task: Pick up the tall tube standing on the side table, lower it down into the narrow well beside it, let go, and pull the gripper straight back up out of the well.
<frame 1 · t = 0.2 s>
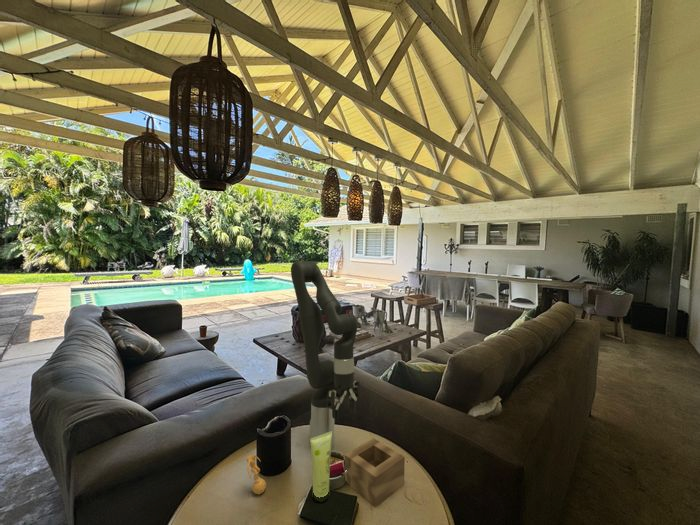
hand: (344, 414, 107), 18 cm above the table, tool pointing down, fingers open, 8 cm apart
well: (374, 482, 98), on the table
figurine: (256, 493, 94), on the table
tube: (320, 497, 92), on the table
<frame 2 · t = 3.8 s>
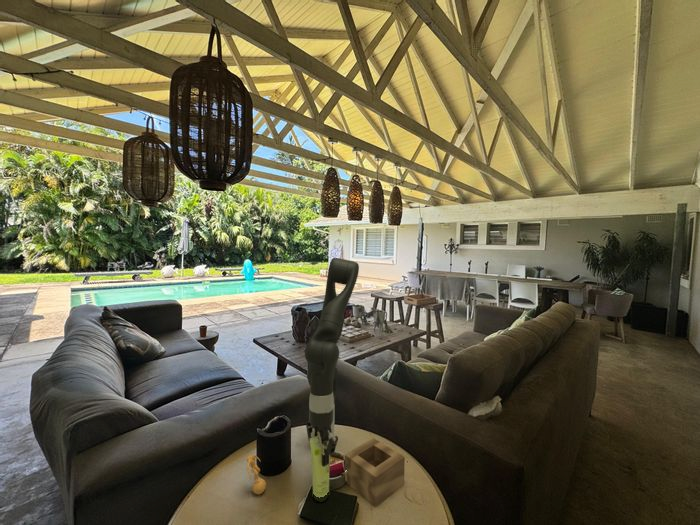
hand: (320, 461, 92), 11 cm above the table, tool pointing down, fingers closed on tube, 4 cm apart
tube: (320, 497, 92), on the table, touching gripper
everything else where it was.
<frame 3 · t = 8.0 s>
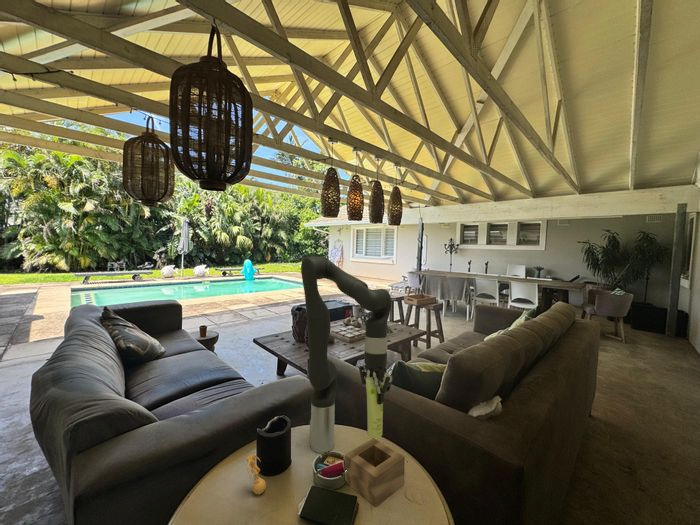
hand: (375, 400, 98), 27 cm above the table, tool pointing down, fingers closed on tube, 4 cm apart
tube: (374, 435, 98), point 16 cm above the table, touching gripper
everything else where it was.
when the fingers open (13 cm above the table, at t = 12.0 s): tube drops 1 cm, resting in well.
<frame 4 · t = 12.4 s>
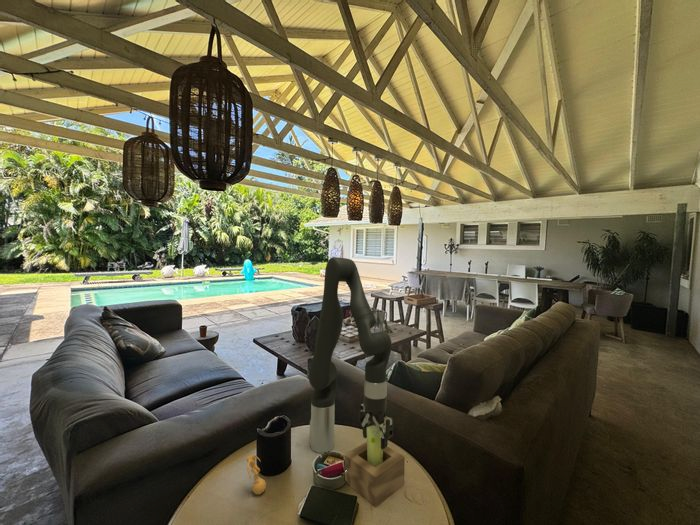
hand: (374, 442, 98), 13 cm above the table, tool pointing down, fingers open, 7 cm apart
tube: (373, 482, 99), resting in well
everything else where it was.
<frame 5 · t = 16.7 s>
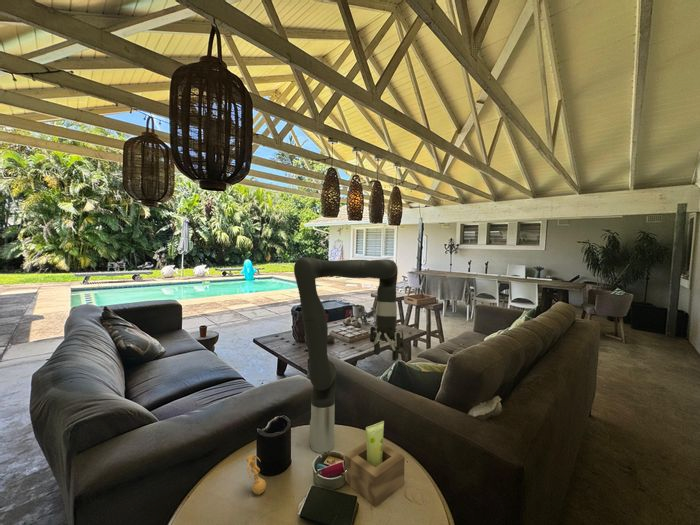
hand: (385, 357, 109), 38 cm above the table, tool pointing down, fingers open, 8 cm apart
nothing on the table moved.
at the end: tube 0.2 cm off-centre on the well, point 0.0 cm above the well's base; tube tilted 0°; the gripper is holding nothing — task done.
